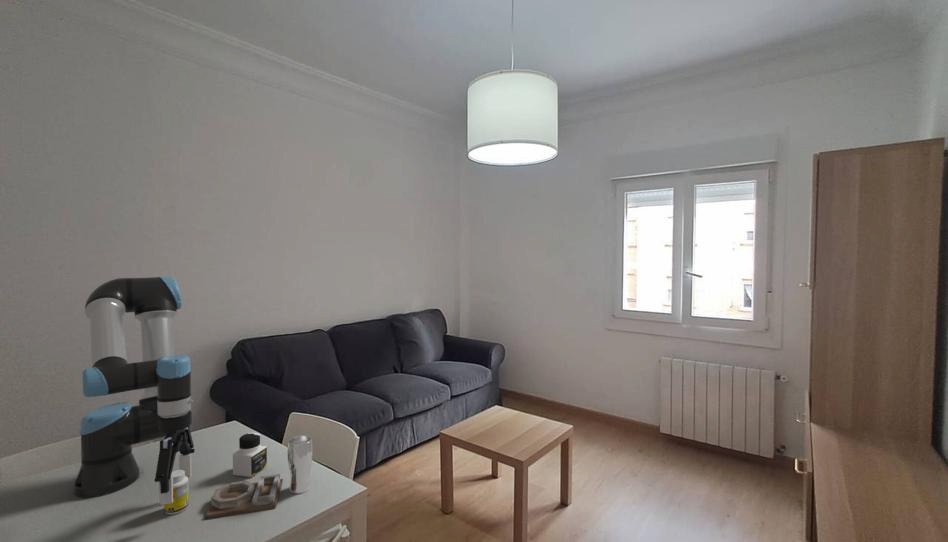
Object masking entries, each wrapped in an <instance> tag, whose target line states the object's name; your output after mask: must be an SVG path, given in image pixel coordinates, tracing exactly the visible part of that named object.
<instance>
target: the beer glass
mask: <svg viewBox="0 0 948 542" xmlns="http://www.w3.org/2000/svg"><path fill="white" fill-rule="evenodd" d="M312 462H313V438H312V436H310V435H309V434H308V435H307V434H300V435H297V436H296V435H295V436H293V437H290V438H289V440H288V444H287V464H288V469H289V475H290V486H289V493H291V494H295V495H299V494H303V493H306V492H308V491H309V490H310V489H311V488H312V482H311V476H310V473H311V468H312Z"/></svg>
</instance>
